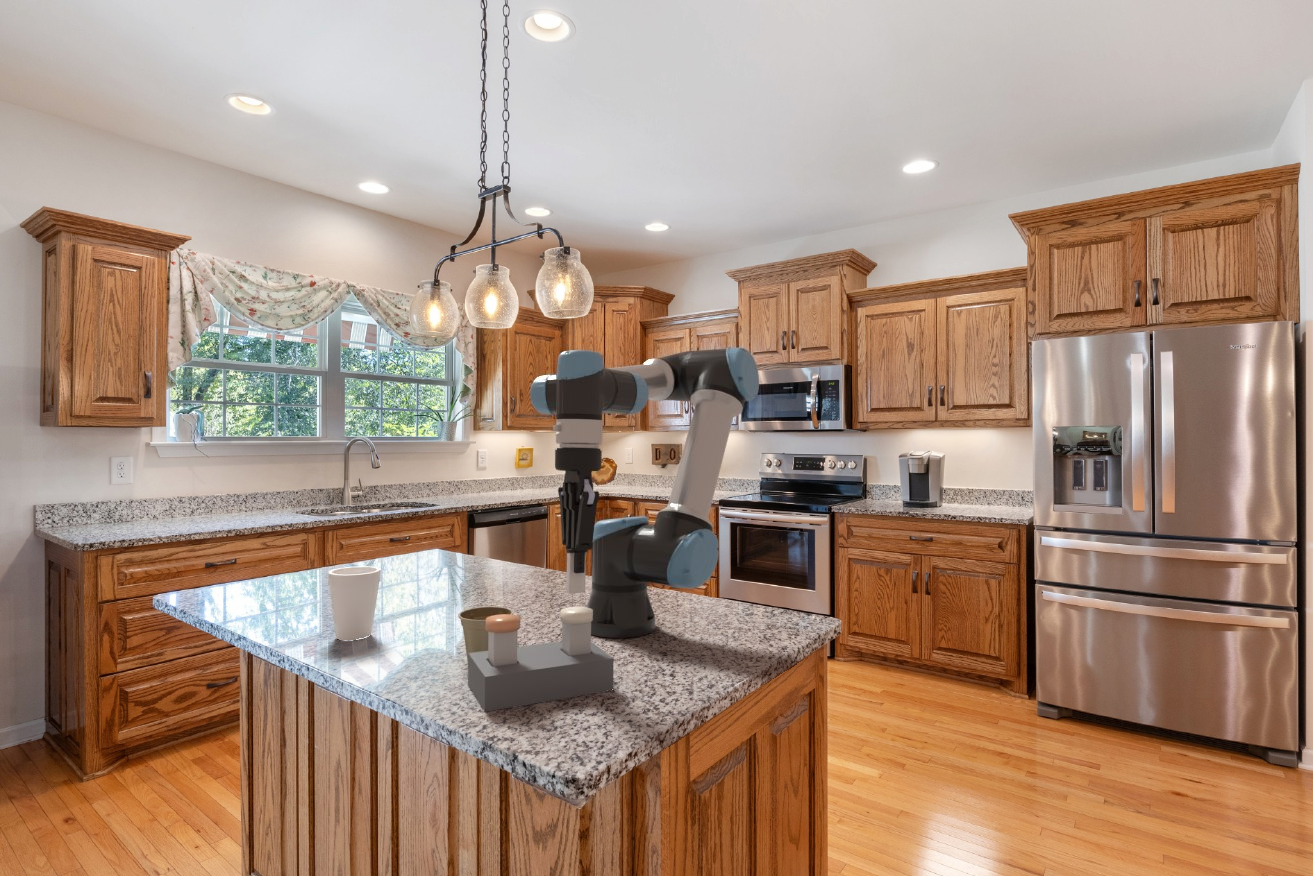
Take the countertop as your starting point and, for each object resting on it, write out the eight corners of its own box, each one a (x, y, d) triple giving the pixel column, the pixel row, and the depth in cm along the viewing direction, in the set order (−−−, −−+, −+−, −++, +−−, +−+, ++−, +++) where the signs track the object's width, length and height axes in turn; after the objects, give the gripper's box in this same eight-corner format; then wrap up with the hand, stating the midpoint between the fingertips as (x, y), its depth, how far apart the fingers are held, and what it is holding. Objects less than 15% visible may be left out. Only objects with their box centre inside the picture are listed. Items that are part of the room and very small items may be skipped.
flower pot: (484, 674, 112) (485, 622, 112) (445, 664, 117) (446, 614, 117) (523, 659, 120) (524, 611, 120) (486, 650, 125) (486, 604, 125)
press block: (585, 667, 116) (586, 638, 116) (613, 690, 106) (613, 658, 106) (467, 684, 107) (468, 653, 107) (484, 711, 97) (485, 676, 97)
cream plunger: (585, 646, 113) (586, 605, 113) (597, 655, 108) (597, 612, 108) (555, 650, 110) (556, 608, 110) (566, 660, 106) (566, 616, 106)
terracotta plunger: (514, 656, 107) (515, 612, 107) (523, 666, 103) (524, 620, 103) (481, 660, 105) (482, 616, 105) (489, 671, 100) (490, 624, 100)
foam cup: (338, 630, 137) (339, 566, 137) (385, 629, 138) (386, 566, 138) (319, 644, 128) (320, 575, 128) (369, 643, 128) (370, 575, 128)
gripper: (544, 445, 113) (541, 586, 113) (570, 446, 102) (567, 602, 101) (586, 446, 117) (583, 583, 116) (615, 447, 105) (612, 598, 105)
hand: (575, 592), depth 109 cm, fingers closed
